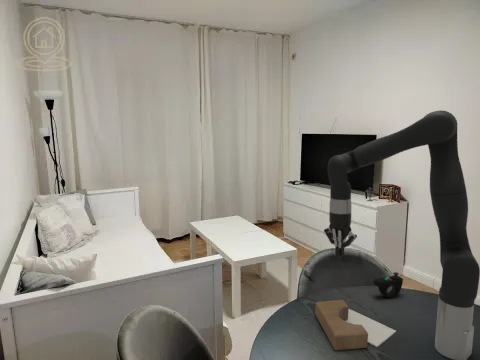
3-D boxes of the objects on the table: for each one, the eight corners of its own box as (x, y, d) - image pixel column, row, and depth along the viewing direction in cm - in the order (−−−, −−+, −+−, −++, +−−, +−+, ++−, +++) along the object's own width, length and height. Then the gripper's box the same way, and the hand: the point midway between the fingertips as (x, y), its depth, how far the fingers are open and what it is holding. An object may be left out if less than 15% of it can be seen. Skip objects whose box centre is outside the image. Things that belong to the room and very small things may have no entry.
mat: (396, 331, 117) (396, 330, 117) (377, 347, 110) (377, 346, 110) (347, 308, 132) (347, 307, 132) (327, 321, 125) (327, 320, 125)
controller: (404, 297, 140) (405, 274, 138) (377, 301, 137) (378, 278, 136) (397, 292, 144) (398, 270, 142) (371, 296, 142) (372, 273, 140)
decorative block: (344, 299, 128) (369, 333, 108) (343, 312, 129) (367, 348, 109) (315, 300, 127) (335, 335, 107) (314, 314, 128) (334, 351, 108)
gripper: (362, 211, 119) (361, 258, 121) (331, 205, 129) (330, 249, 132) (350, 215, 114) (349, 264, 117) (318, 209, 124) (318, 254, 127)
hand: (339, 256), depth 124 cm, fingers closed
